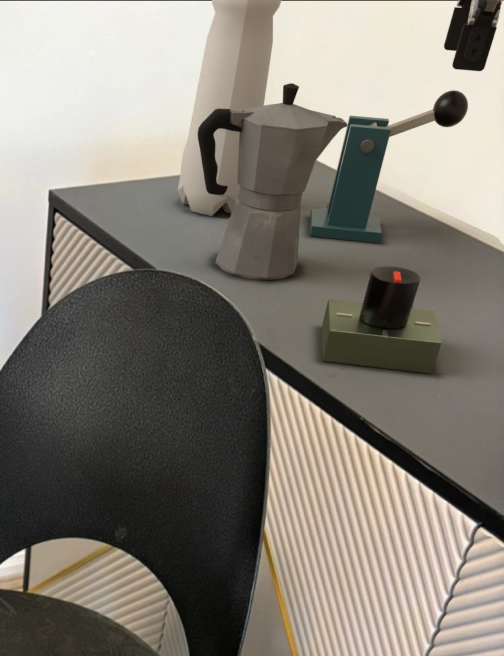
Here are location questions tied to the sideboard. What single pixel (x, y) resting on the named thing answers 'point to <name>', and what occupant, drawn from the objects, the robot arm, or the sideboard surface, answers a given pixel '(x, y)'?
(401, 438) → the sideboard surface
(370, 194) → the teal lever mount
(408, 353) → the panel
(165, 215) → the sideboard surface
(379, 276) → the knob
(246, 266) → the coffeepot
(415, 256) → the sideboard surface
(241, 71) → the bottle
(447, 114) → the ball knob lever
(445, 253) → the sideboard surface
